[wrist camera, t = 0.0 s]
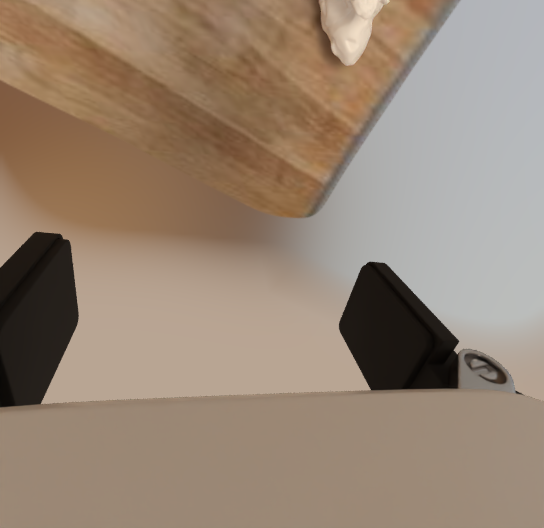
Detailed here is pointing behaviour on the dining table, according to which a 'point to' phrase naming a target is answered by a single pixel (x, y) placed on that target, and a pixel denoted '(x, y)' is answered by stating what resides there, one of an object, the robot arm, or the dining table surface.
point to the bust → (349, 25)
